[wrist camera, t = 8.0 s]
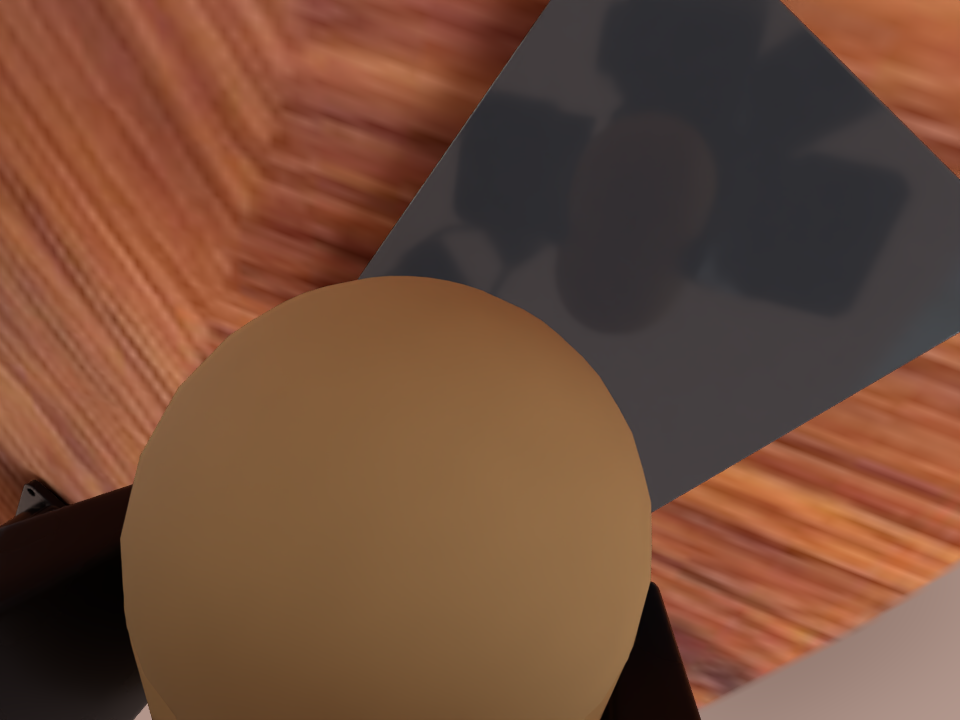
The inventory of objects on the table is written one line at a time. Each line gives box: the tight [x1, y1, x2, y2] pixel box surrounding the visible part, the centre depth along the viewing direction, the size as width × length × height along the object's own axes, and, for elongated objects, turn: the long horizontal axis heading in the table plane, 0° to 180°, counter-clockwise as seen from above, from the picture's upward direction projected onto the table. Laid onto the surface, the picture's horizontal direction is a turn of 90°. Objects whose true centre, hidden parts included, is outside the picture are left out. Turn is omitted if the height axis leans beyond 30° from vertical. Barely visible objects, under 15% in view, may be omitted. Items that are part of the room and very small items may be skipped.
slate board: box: [357, 0, 960, 513], centre depth 14 cm, size 14×10×1 cm
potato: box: [120, 276, 652, 720], centre depth 7 cm, size 8×5×5 cm, turn 172°
